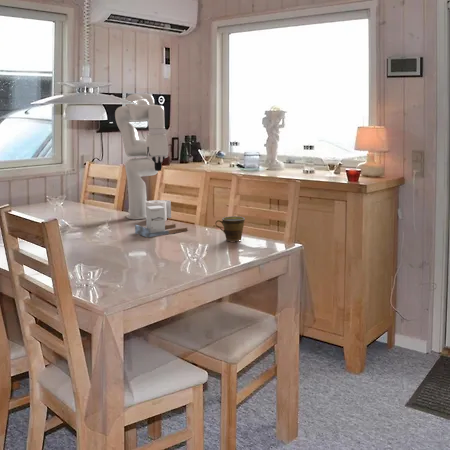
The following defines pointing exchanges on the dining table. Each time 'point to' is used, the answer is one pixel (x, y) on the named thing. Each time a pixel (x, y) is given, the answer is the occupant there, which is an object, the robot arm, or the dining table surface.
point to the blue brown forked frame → (145, 232)
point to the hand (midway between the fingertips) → (158, 170)
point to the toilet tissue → (163, 203)
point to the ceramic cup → (232, 227)
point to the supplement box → (155, 218)
